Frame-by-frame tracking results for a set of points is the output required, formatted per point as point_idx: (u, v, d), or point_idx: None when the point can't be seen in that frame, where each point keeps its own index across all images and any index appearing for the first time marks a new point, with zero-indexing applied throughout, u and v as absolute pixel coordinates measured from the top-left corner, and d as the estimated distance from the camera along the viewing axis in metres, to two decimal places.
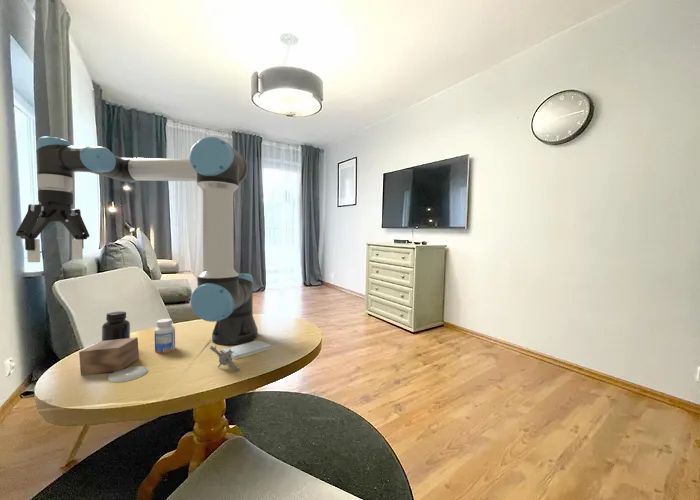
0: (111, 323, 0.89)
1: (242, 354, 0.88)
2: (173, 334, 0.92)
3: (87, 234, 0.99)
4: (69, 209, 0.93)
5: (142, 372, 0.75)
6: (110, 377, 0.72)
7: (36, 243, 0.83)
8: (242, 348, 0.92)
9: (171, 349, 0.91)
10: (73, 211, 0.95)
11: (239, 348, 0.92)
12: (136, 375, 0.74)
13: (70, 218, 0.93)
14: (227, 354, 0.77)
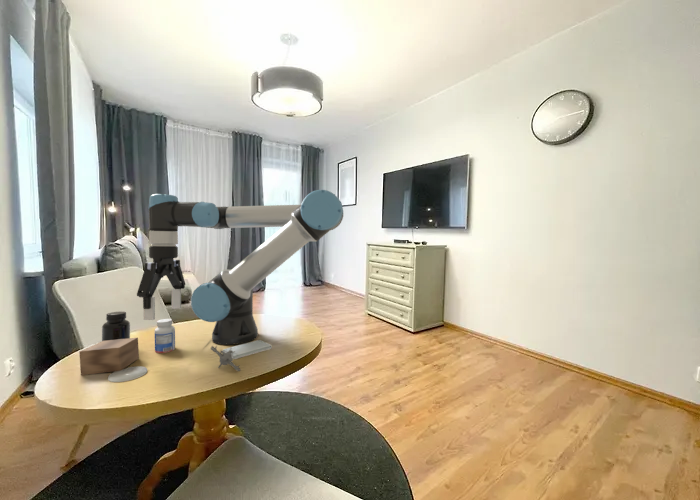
0: (111, 323, 0.89)
1: (242, 354, 0.88)
2: (173, 334, 0.92)
3: (184, 283, 1.01)
4: (173, 261, 0.94)
5: (142, 372, 0.75)
6: (110, 377, 0.72)
7: (152, 301, 0.84)
8: (242, 348, 0.93)
9: (171, 349, 0.91)
10: (174, 262, 0.96)
11: (239, 348, 0.92)
12: (136, 375, 0.74)
13: (174, 270, 0.94)
14: (228, 354, 0.77)
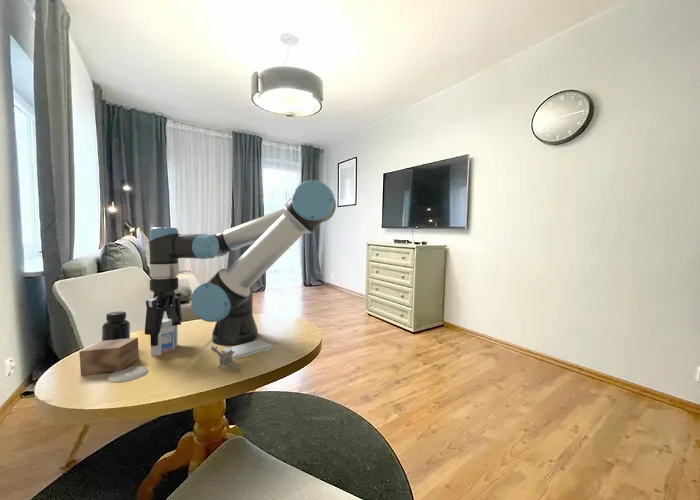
0: (111, 323, 0.89)
1: (242, 354, 0.88)
2: (173, 335, 0.92)
3: (180, 318, 0.99)
4: (174, 292, 0.95)
5: (142, 372, 0.75)
6: (110, 377, 0.72)
7: (159, 338, 0.87)
8: (242, 348, 0.93)
9: (171, 349, 0.91)
10: (175, 294, 0.97)
11: (240, 348, 0.92)
12: (136, 375, 0.74)
13: (174, 303, 0.94)
14: (228, 354, 0.77)
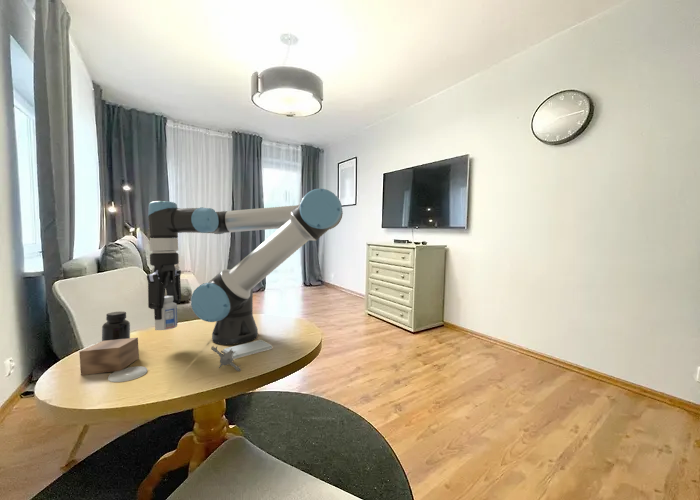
0: (111, 323, 0.89)
1: (242, 354, 0.88)
2: (175, 311, 0.92)
3: (180, 296, 0.97)
4: (174, 268, 0.94)
5: (142, 372, 0.75)
6: (110, 377, 0.72)
7: (163, 312, 0.88)
8: (243, 347, 0.93)
9: (173, 325, 0.91)
10: (175, 271, 0.96)
11: (240, 348, 0.93)
12: (136, 375, 0.74)
13: (174, 279, 0.93)
14: (228, 354, 0.77)
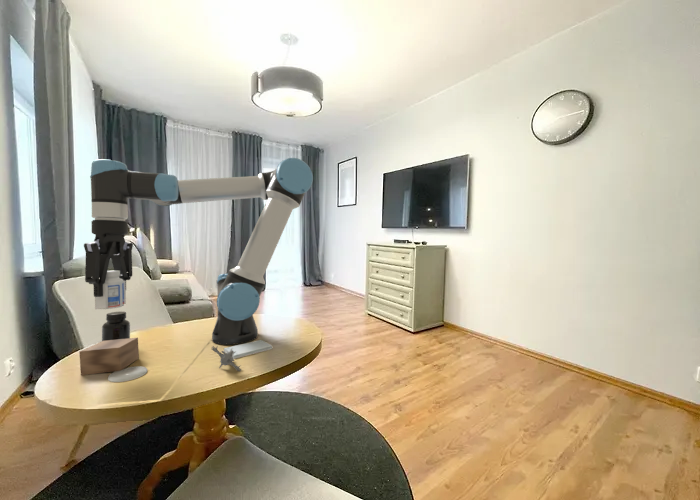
0: (111, 323, 0.89)
1: (242, 354, 0.88)
2: (121, 288, 0.79)
3: (130, 273, 0.85)
4: (123, 240, 0.82)
5: (142, 372, 0.75)
6: (110, 377, 0.72)
7: (104, 288, 0.76)
8: (243, 347, 0.93)
9: (118, 304, 0.79)
10: (126, 244, 0.84)
11: (240, 347, 0.93)
12: (136, 375, 0.74)
13: (122, 251, 0.81)
14: (229, 354, 0.77)
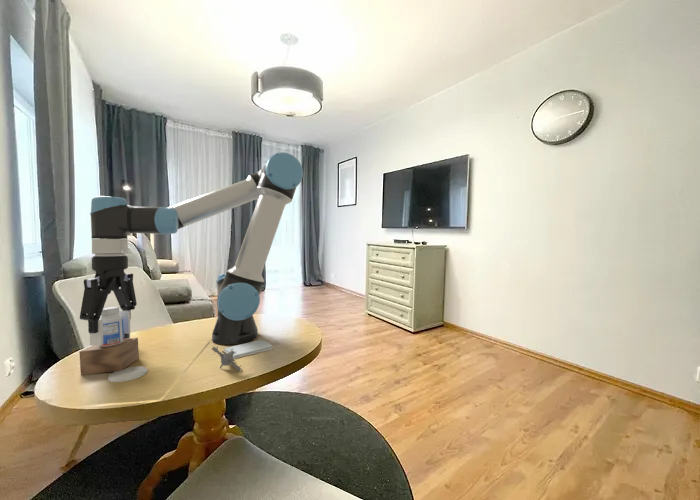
0: None
1: (242, 354, 0.88)
2: (120, 324, 0.80)
3: (135, 302, 0.87)
4: (123, 273, 0.82)
5: (142, 372, 0.75)
6: (110, 377, 0.72)
7: (99, 324, 0.74)
8: (243, 347, 0.93)
9: (118, 341, 0.79)
10: (126, 276, 0.84)
11: (241, 347, 0.93)
12: (136, 375, 0.74)
13: (123, 285, 0.81)
14: (229, 354, 0.77)
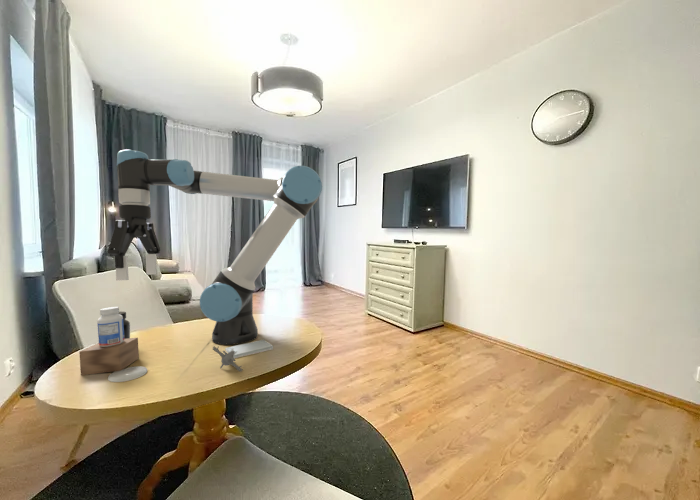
0: None
1: (242, 353, 0.89)
2: (120, 324, 0.80)
3: (158, 248, 0.97)
4: (146, 223, 0.90)
5: (142, 372, 0.75)
6: (110, 377, 0.72)
7: (125, 260, 0.80)
8: (244, 347, 0.93)
9: (118, 341, 0.79)
10: (147, 225, 0.92)
11: (241, 347, 0.93)
12: (136, 375, 0.74)
13: (147, 233, 0.90)
14: (230, 354, 0.77)
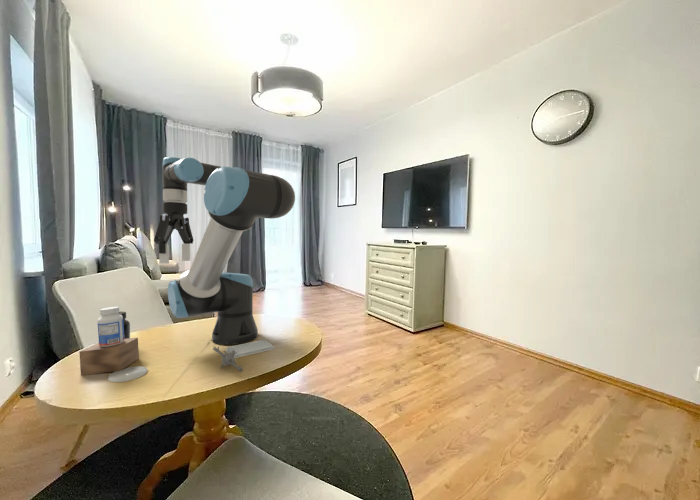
0: None
1: (242, 354, 0.89)
2: (120, 324, 0.80)
3: (192, 239, 1.15)
4: (183, 218, 1.09)
5: (142, 372, 0.75)
6: (110, 377, 0.72)
7: (166, 247, 0.99)
8: (244, 347, 0.93)
9: (118, 341, 0.79)
10: (184, 219, 1.11)
11: (242, 347, 0.93)
12: (136, 375, 0.74)
13: (184, 225, 1.08)
14: (231, 355, 0.77)
